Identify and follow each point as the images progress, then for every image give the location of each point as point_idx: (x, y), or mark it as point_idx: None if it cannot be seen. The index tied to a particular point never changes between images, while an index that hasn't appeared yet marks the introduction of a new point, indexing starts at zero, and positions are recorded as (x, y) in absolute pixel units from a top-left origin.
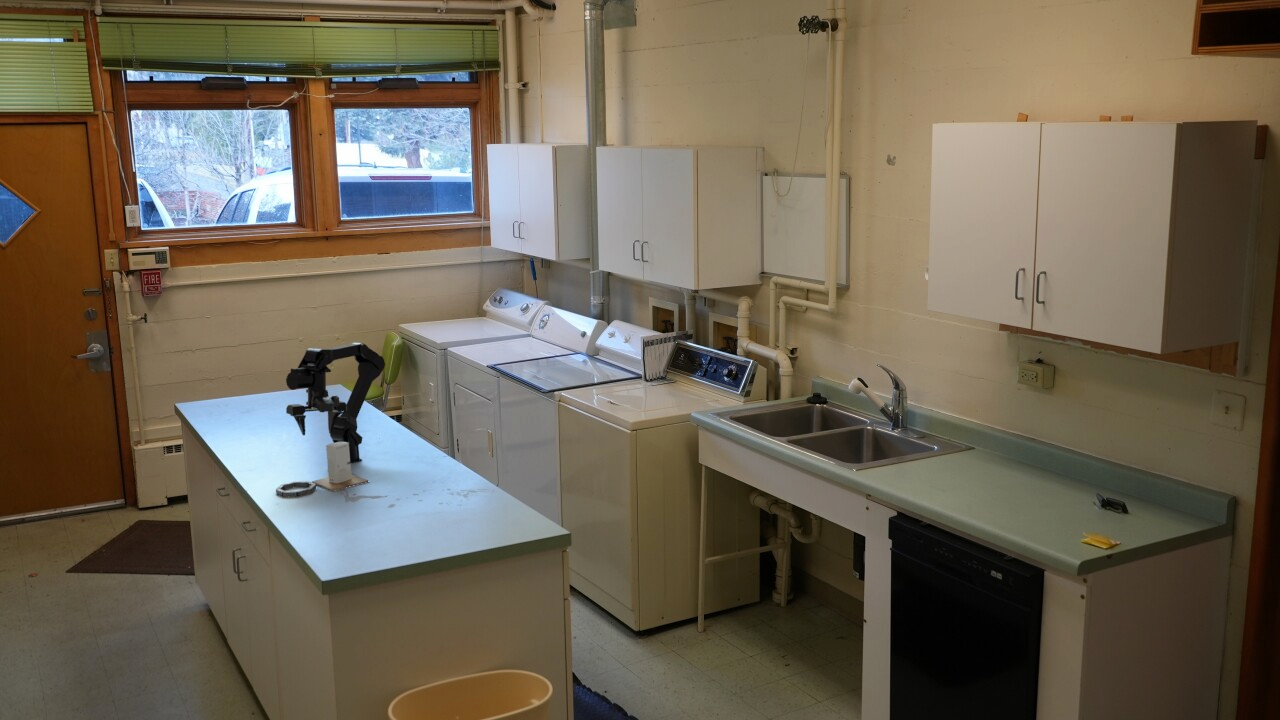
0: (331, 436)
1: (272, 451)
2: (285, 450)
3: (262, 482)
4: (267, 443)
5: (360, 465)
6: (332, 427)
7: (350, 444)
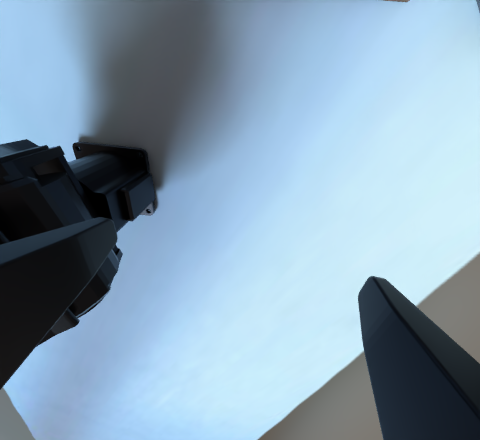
0: (113, 263)
1: (228, 368)
2: (206, 357)
3: (459, 212)
4: (207, 394)
5: (97, 90)
6: (48, 235)
7: (54, 150)
